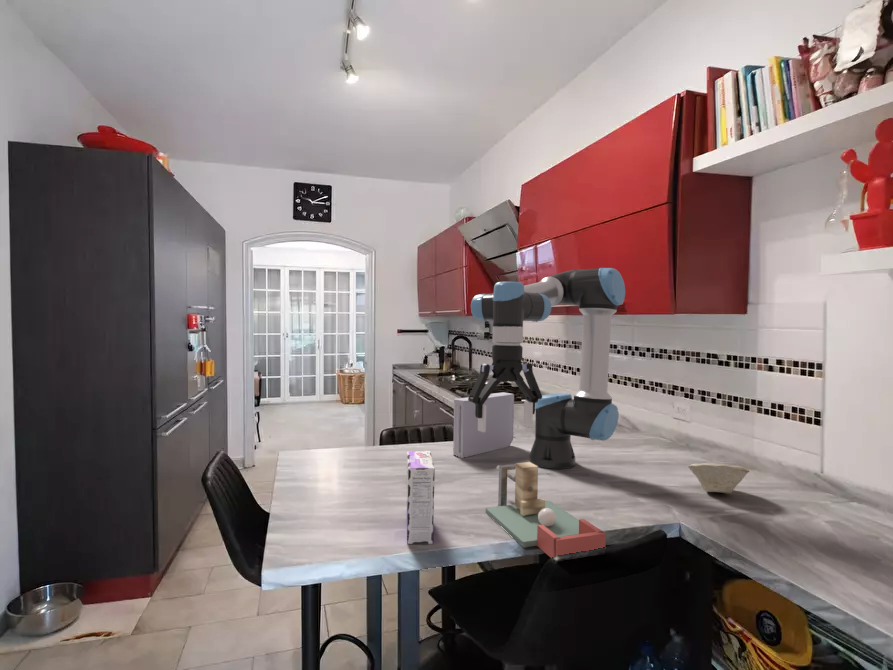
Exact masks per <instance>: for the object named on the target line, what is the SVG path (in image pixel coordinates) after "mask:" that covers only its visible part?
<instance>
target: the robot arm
mask: <svg viewBox="0 0 893 670" xmlns="http://www.w3.org/2000/svg"><path fill="white" fill-rule="evenodd" d="M625 296H626V287H625V281H624V278H623V277H622V274H621V273H620V271H619V270H617V269H616V268H613V267H598V268H586V269H585V268H584V269H570V270H567V271H563V272H560V273H556V274H553V275H550V276H546V277H543V278H542V279H541V280H540V281H539V282H538V281H537V282H535V283H529V284H525V285H524V284H523V283H522V282H519V281H498V282H496V283H495V284H494V286H493V292H492V293H480V294H476V295H474V297H472V300H471V303H470V311H471V312H470V313H471V314H472V317H473V318H474V319H476V320H477V321H484V322H487V321H493V322H492V343H494V344H493V345H492V346H491V347H492V348H491V359H492V363H491V364H487V363H481V364H480V369H479V373H478V376H477V378H476V381H474V382H475V383H474V385H473V387H472V390H471V391H470V393H469V396H468V397H469V398H468V400H469V401H470V402H473V403H475V416H476V417H477V418H478V431H481V432H486V405H483V404H484V402H485V401H486V400H487V398H488V397H489V396H490V394H493V391H494V390H495V388H497V386H498V385H500V384H501V383H507V382H511V383H512V382H514V384H515V385H516V387H518V388H519V390H520V391H521V393H522V394H523V396H524V398H525V399H527V400H524V401H523V402H524V403H523V406H524V407H523V427H525V428H527V429H533V419H534V416H533V415H535V425H534V428H535V429H534V430H535V431H534V432H535V433H534V434H535V435H534V440H533V445H532V447H531V450H530V452H529V462H531V463H533V464H534V465H536V466H538V468H545V469H553V470H554V469H555V470H556V469H557V470H561V469H562V470H563V469H570V468H573V467H575V466H576V456H575V452H574V448H573V444H572V442H571V440H572V439H571V436H574V437H578V438H584V439H590V440H592V441H603V442H604V441H607V440H609V439H610V438H611V437H612V436H613V435H614V433H615V431H616V430H617V425H618V423H619V422H618V421H619V414H620V413H619V408H618V406H617V405H615V404H614V403H613V397H612V396H611V394H609V392H608V386H609V385H608V383H609V370H610V369H609V368H610V367H609V366H610V349H611V330H612V316H613V315H615V314H616V313H617V310H618V306H620V305H622V304H623V303H624V301H625V299H626V297H625ZM557 305H559V306H560V305H565V306H567V305H568V306H578V310H579V313H581V315H583V316H582V317H583V318H582V331H581V332H582V335H581V336H582V337H581V348H580V349H581V351H580V371H579V389H578V391H576V392H575V393H574V394H573V397H572V394H571V393H549V394H544V395H543V394H542V392H541V389H540V387H539V385H538V382H537V380H536V376H535V375H534V372H533V370H534V369H533V364H532V363H530V362H529V363H528V362H523V363H522V360H523V346H522V345H521V344H523V343H524V322H536V323H537V322H542V321H545V320H546V319H548V318H549V317H550V314H551V312H552V307H553V306H557ZM521 372H523V374H524V378H525V380H526V382H527V383H526V382H525V380H524V378H523V376H522V375H521ZM490 373H492V374H491V376H490V378H489V374H490ZM488 378H489V380H488ZM487 380H488V382H487ZM486 382H487V383H486Z"/></svg>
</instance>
